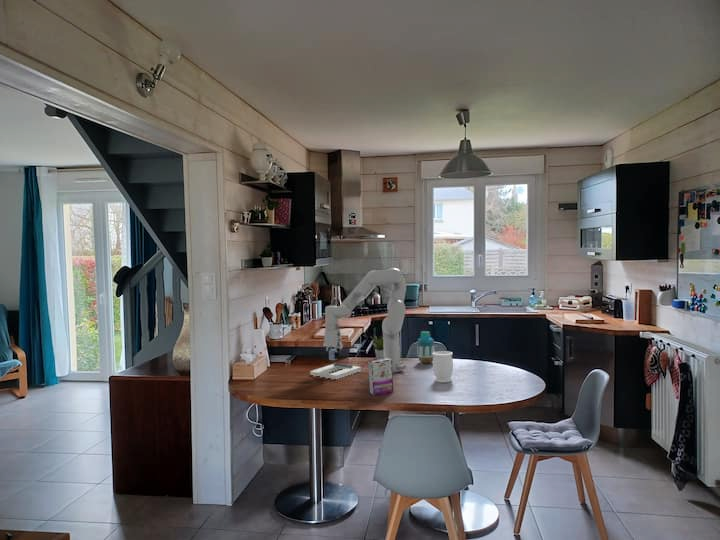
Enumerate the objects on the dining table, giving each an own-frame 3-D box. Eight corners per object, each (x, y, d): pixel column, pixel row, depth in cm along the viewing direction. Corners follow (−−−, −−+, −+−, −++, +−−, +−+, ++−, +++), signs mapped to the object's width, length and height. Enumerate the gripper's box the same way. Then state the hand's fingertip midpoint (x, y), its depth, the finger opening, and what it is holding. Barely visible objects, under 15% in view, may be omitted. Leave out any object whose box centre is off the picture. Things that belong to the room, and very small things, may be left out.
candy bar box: (389, 389, 251) (387, 357, 250) (393, 392, 246) (392, 359, 246) (369, 393, 246) (367, 360, 246) (373, 395, 242) (371, 362, 241)
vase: (416, 361, 310) (414, 331, 309) (432, 360, 311) (431, 330, 310) (420, 365, 299) (418, 333, 298) (437, 364, 300) (435, 332, 300)
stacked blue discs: (339, 359, 288) (339, 349, 288) (333, 360, 284) (333, 351, 284) (332, 358, 291) (332, 348, 291) (327, 359, 287) (326, 350, 287)
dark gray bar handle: (352, 367, 290) (352, 365, 290) (350, 368, 289) (350, 365, 289) (335, 365, 299) (335, 362, 299) (333, 365, 298) (333, 363, 298)
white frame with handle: (361, 371, 291) (360, 367, 291) (336, 379, 274) (336, 375, 274) (335, 367, 304) (335, 363, 304) (310, 375, 287) (310, 371, 287)
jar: (431, 382, 260) (430, 354, 259) (435, 377, 269) (434, 350, 269) (451, 383, 256) (450, 355, 256) (455, 378, 266) (454, 351, 265)
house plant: (365, 361, 317) (363, 335, 317) (370, 356, 330) (369, 332, 330) (386, 361, 313) (385, 336, 312) (391, 356, 326) (390, 332, 326)
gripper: (347, 327, 284) (348, 358, 285) (325, 325, 295) (326, 355, 296) (339, 329, 279) (340, 361, 279) (316, 326, 289) (318, 357, 290)
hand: (333, 357), depth 288 cm, fingers closed on stacked blue discs, 5 cm apart
